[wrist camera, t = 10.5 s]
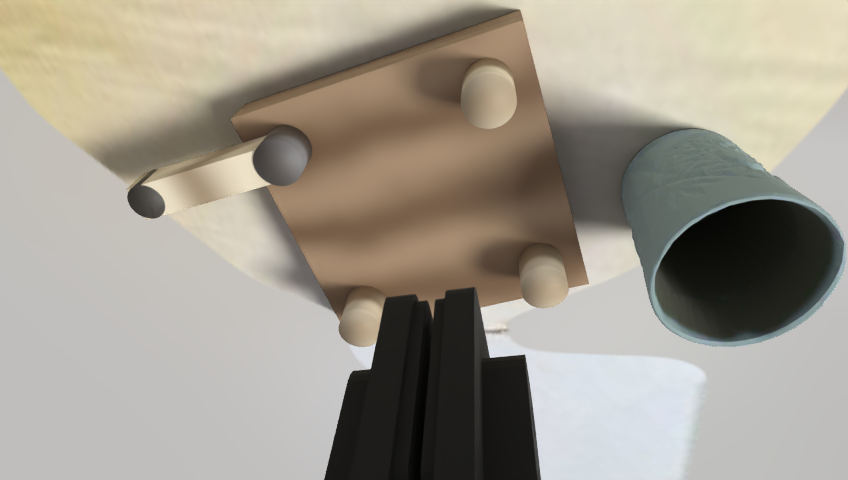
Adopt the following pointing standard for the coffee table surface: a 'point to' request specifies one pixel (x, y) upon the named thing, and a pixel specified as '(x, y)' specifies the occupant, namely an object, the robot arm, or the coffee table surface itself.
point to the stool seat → (427, 178)
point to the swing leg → (222, 173)
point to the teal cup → (727, 241)
